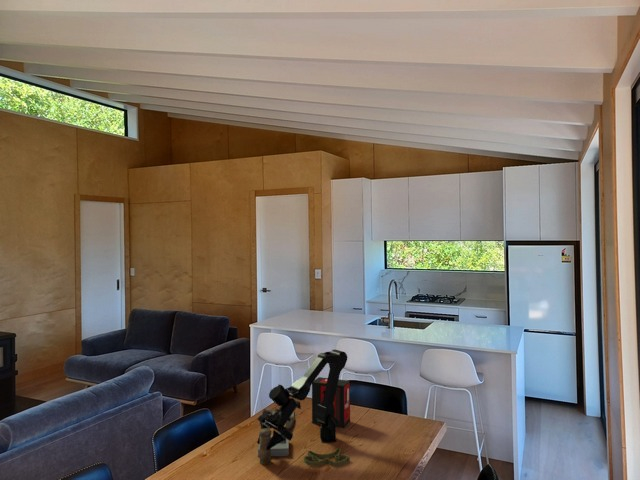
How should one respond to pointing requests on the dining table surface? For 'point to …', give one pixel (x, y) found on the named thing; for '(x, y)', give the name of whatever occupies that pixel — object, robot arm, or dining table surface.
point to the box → (278, 449)
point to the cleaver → (291, 423)
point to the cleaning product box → (340, 400)
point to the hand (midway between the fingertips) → (262, 446)
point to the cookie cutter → (316, 462)
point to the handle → (264, 440)
